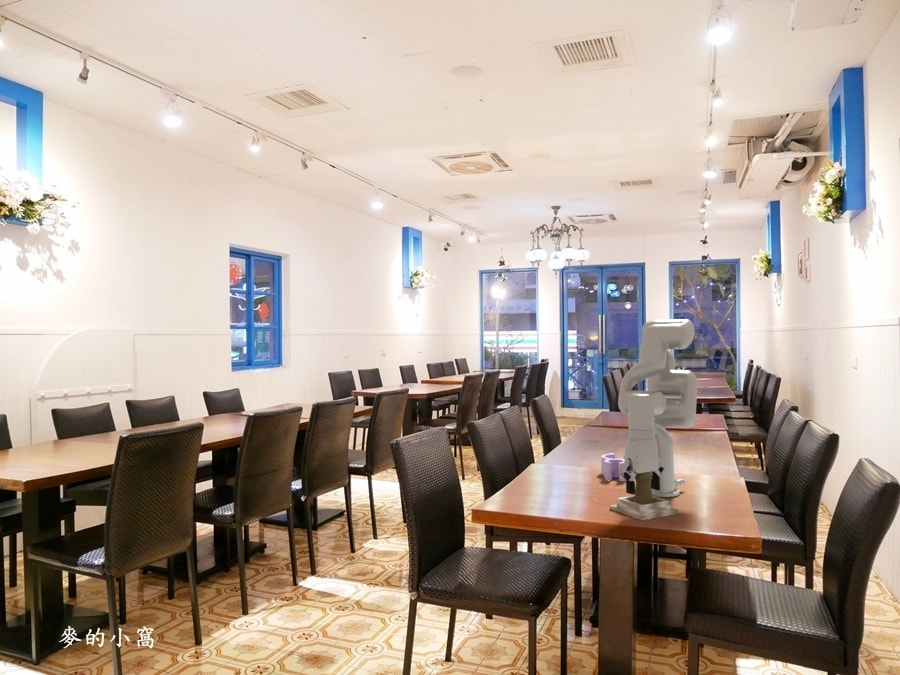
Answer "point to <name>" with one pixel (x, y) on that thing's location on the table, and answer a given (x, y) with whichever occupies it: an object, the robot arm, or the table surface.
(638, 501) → the cork
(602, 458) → the clip
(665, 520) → the table surface
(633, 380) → the robot arm
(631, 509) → the socket board
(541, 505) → the table surface
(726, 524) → the table surface
